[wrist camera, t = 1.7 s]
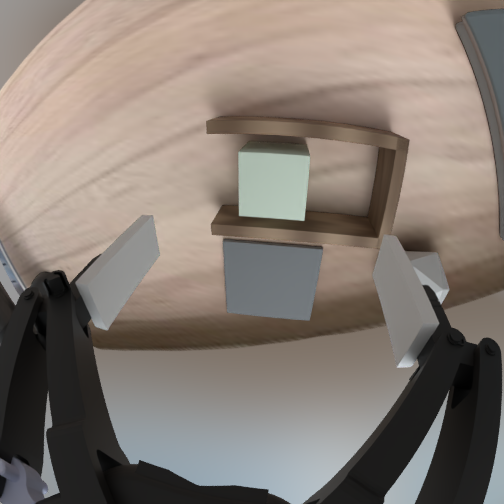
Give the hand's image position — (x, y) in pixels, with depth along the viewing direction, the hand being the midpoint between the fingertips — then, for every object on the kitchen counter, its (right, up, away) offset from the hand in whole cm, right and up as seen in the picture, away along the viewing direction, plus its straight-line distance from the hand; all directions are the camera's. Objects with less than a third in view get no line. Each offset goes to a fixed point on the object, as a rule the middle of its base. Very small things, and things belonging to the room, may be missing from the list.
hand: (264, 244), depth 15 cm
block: (+2, +8, +13) cm, 16 cm away
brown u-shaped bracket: (+5, +8, +13) cm, 16 cm away
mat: (+2, -4, +21) cm, 22 cm away
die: (+20, -2, +17) cm, 26 cm away
